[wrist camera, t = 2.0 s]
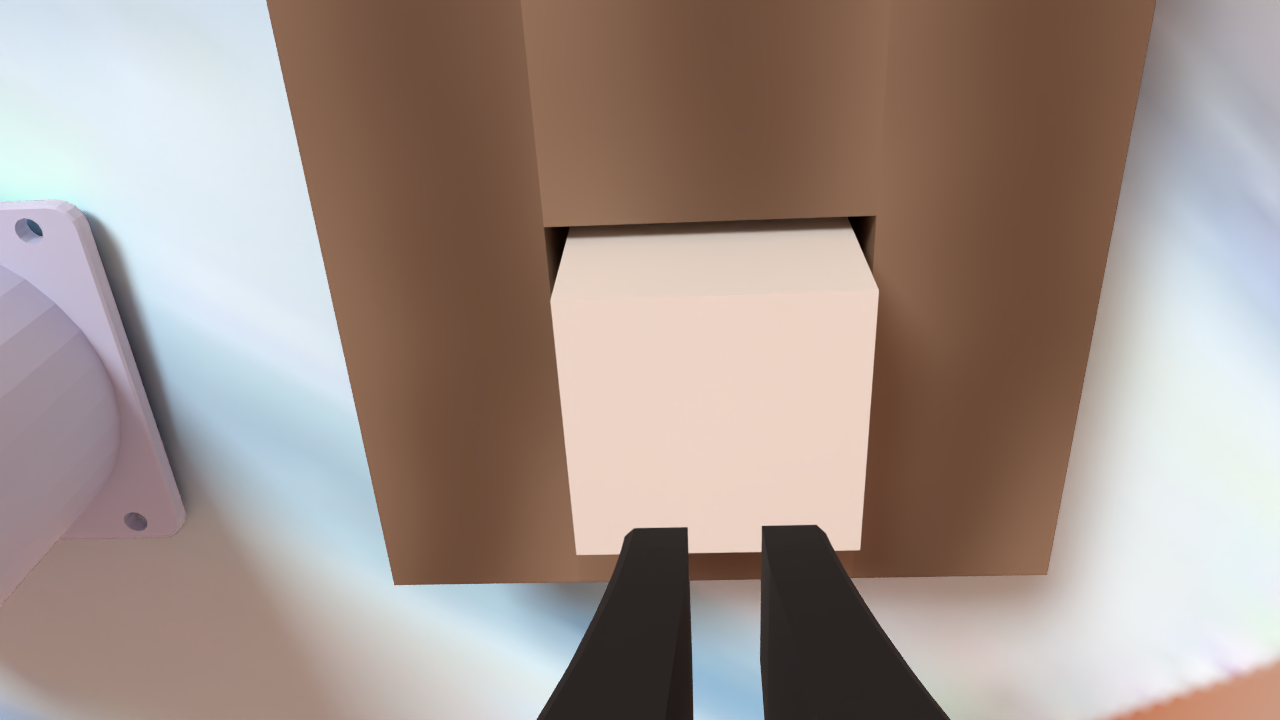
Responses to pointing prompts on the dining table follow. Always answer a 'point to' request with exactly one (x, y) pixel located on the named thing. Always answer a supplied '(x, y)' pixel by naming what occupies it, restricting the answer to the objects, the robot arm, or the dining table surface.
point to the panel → (713, 191)
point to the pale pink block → (715, 379)
